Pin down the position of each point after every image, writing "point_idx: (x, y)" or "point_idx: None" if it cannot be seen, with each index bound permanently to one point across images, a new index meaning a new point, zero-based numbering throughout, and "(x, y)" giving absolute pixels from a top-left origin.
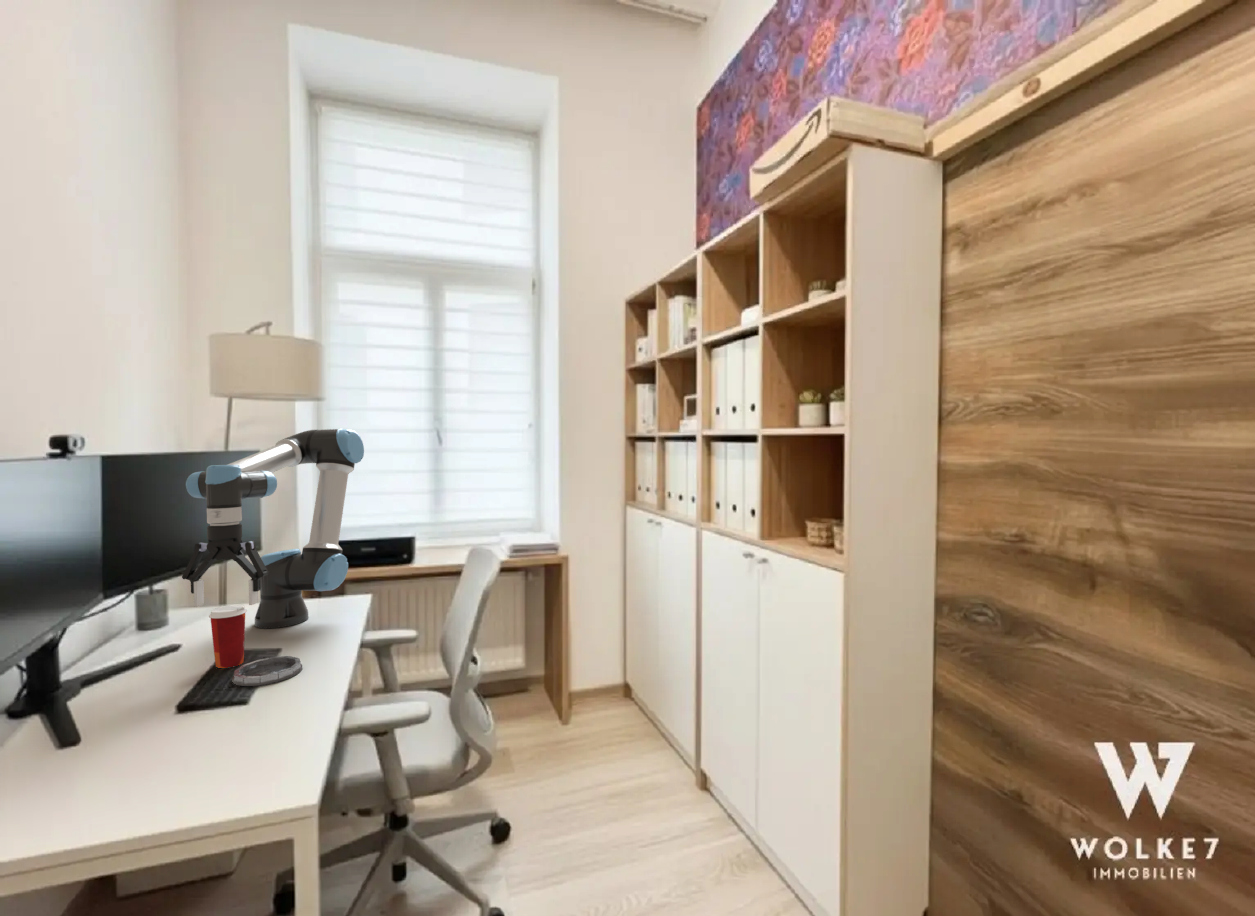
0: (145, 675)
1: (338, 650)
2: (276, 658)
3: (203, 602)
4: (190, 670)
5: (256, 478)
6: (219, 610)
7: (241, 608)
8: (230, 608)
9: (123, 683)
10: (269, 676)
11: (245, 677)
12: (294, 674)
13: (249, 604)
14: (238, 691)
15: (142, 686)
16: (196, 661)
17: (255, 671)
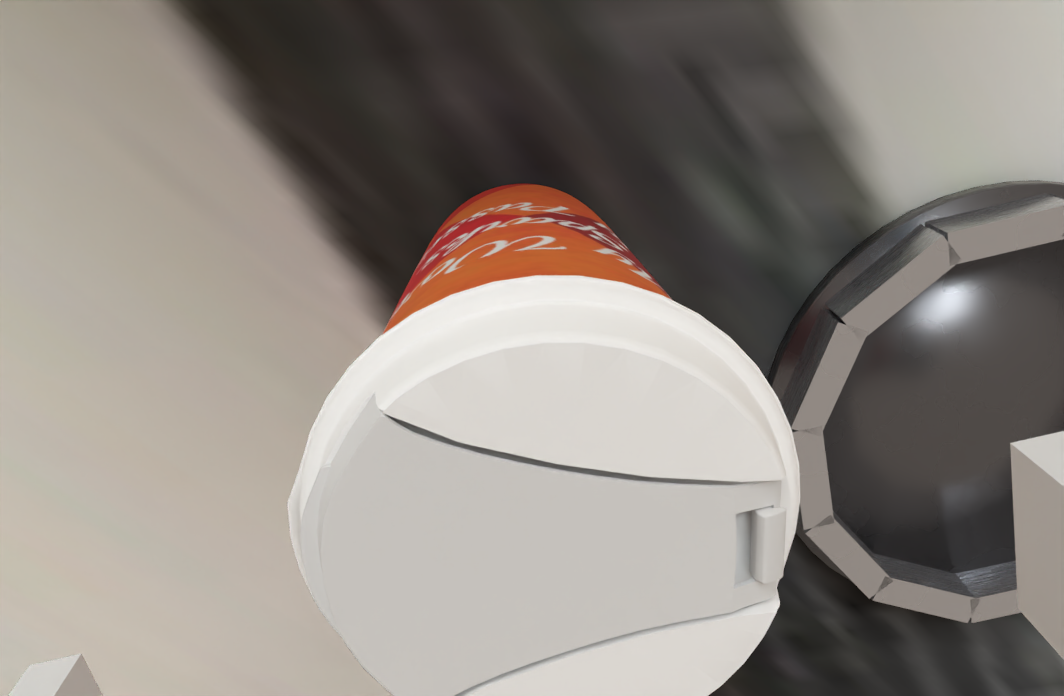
0: (51, 536)
1: None
2: (973, 259)
3: (71, 694)
4: (300, 416)
5: None
6: (514, 669)
7: (784, 517)
8: (612, 568)
9: (62, 655)
10: None
11: (975, 612)
12: None
13: (1030, 612)
14: (955, 644)
15: (252, 672)
16: (141, 245)
17: (886, 415)
